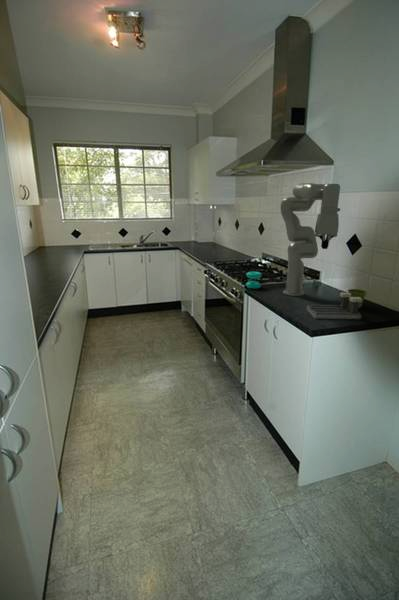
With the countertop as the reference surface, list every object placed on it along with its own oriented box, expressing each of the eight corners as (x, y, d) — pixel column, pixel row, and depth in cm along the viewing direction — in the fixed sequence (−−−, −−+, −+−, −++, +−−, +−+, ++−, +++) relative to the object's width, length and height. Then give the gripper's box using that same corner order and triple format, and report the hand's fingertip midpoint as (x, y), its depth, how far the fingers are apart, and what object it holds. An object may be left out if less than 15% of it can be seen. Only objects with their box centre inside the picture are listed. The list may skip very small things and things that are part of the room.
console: (306, 309, 167) (307, 304, 166) (348, 310, 166) (349, 304, 166) (315, 318, 154) (315, 313, 153) (360, 319, 153) (361, 313, 152)
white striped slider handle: (338, 306, 165) (340, 292, 162) (346, 306, 164) (348, 292, 162) (340, 308, 161) (342, 294, 159) (349, 308, 161) (351, 294, 159)
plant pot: (368, 308, 169) (371, 292, 166) (354, 310, 166) (356, 294, 164) (355, 303, 178) (358, 288, 175) (341, 304, 175) (343, 289, 172)
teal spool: (254, 270, 215) (264, 273, 207) (253, 284, 218) (264, 287, 210) (243, 272, 210) (253, 274, 202) (242, 286, 213) (252, 289, 205)
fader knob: (347, 311, 157) (349, 296, 155) (356, 311, 157) (359, 297, 155) (350, 313, 154) (352, 298, 152) (359, 313, 154) (362, 298, 151)
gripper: (341, 210, 156) (336, 247, 162) (311, 210, 157) (307, 247, 162) (347, 211, 149) (342, 249, 155) (315, 210, 150) (311, 249, 155)
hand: (324, 248), depth 158 cm, fingers closed
